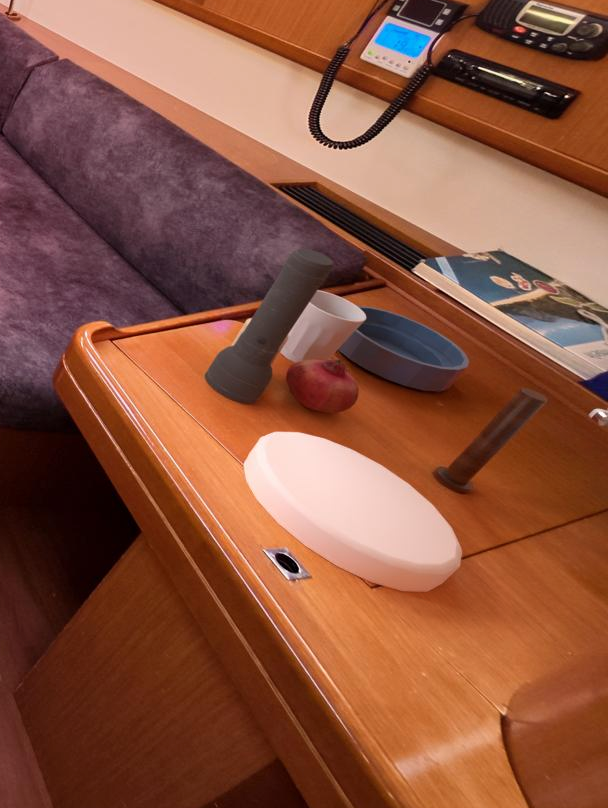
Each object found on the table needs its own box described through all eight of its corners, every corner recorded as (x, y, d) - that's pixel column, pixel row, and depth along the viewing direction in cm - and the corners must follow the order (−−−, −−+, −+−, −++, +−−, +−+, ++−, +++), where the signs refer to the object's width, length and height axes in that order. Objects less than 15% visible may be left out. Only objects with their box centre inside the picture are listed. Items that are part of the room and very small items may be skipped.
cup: (288, 367, 110) (323, 316, 105) (260, 335, 117) (291, 286, 112) (341, 376, 108) (379, 325, 103) (309, 343, 115) (343, 294, 110)
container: (211, 438, 96) (224, 418, 94) (356, 459, 94) (373, 439, 92) (312, 576, 79) (331, 554, 77) (495, 607, 76) (519, 586, 74)
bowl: (435, 356, 113) (455, 332, 111) (458, 410, 103) (481, 384, 100) (321, 317, 122) (337, 294, 119) (331, 363, 111) (349, 338, 108)
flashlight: (194, 372, 108) (233, 405, 102) (270, 243, 96) (320, 273, 90) (229, 368, 109) (269, 402, 103) (309, 241, 97) (360, 270, 91)
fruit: (355, 430, 98) (390, 386, 94) (294, 418, 100) (326, 374, 96) (321, 390, 105) (352, 348, 101) (264, 379, 107) (293, 337, 103)
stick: (465, 480, 91) (550, 393, 83) (473, 498, 89) (561, 410, 80) (429, 465, 93) (509, 379, 85) (435, 483, 91) (518, 395, 82)
